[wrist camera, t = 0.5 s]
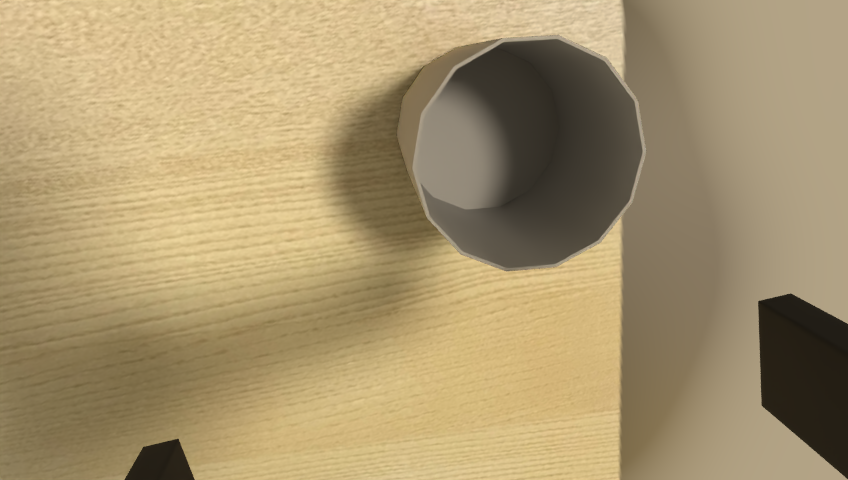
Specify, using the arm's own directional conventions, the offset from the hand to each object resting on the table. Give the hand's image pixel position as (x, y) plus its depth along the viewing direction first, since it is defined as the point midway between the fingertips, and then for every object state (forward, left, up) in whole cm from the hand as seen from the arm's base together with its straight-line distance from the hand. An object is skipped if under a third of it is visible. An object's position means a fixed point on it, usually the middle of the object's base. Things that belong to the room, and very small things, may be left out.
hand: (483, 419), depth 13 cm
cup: (-3, +4, -19) cm, 20 cm away
